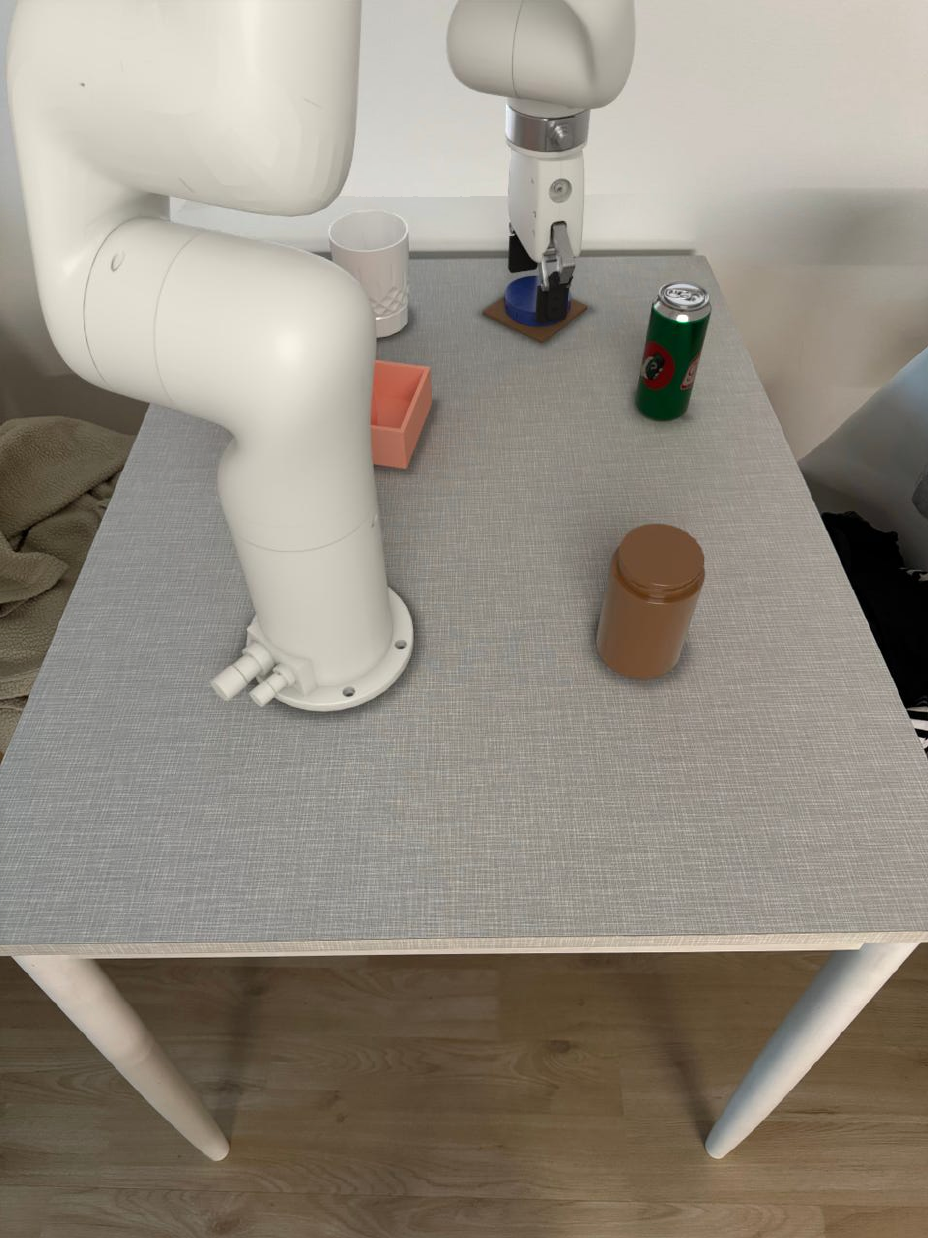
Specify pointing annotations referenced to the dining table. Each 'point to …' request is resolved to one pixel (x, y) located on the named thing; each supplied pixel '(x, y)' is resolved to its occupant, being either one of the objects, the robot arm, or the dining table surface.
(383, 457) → the salmon pink open box
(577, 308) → the pad
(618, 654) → the jar
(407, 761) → the dining table surface
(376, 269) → the white cup
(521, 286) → the lid
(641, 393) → the soda can
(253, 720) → the dining table surface
